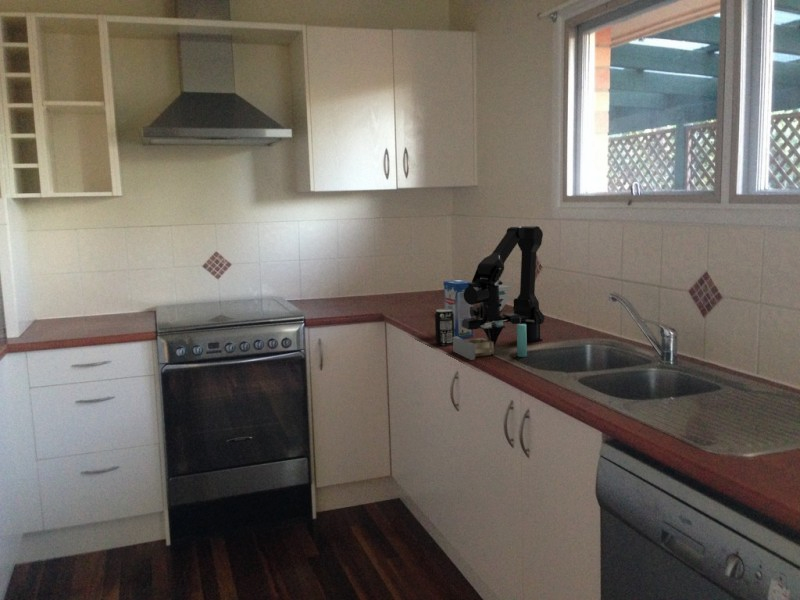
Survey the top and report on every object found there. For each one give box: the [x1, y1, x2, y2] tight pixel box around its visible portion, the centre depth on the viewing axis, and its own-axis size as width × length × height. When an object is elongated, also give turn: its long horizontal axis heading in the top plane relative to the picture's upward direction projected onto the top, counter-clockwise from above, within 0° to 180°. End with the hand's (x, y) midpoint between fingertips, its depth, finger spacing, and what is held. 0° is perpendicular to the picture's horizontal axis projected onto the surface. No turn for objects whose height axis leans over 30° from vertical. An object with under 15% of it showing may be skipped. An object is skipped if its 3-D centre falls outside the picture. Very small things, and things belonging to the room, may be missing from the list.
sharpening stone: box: [472, 284, 512, 312], centre depth 313 cm, size 25×8×11 cm, turn 117°
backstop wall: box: [452, 336, 476, 361], centre depth 234 cm, size 2×14×5 cm, turn 19°
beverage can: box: [434, 308, 455, 346], centre depth 253 cm, size 7×7×12 cm
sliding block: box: [466, 337, 495, 358], centre depth 236 cm, size 8×8×4 cm
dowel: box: [516, 323, 528, 358], centre depth 230 cm, size 3×3×10 cm
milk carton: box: [443, 279, 474, 339], centre depth 266 cm, size 10×6×20 cm, turn 23°
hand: (492, 347), depth 238 cm, fingers closed
